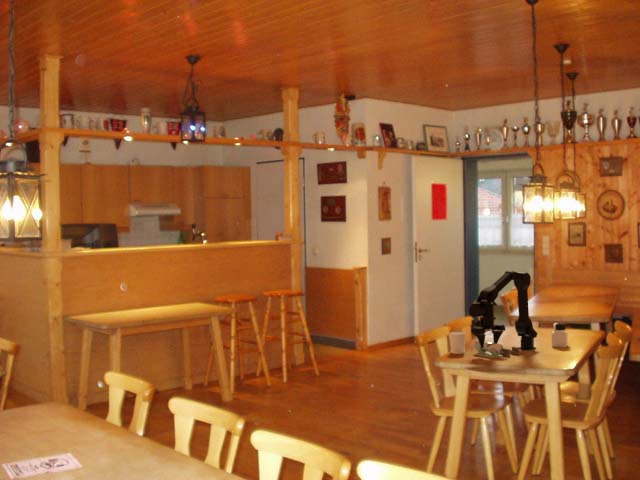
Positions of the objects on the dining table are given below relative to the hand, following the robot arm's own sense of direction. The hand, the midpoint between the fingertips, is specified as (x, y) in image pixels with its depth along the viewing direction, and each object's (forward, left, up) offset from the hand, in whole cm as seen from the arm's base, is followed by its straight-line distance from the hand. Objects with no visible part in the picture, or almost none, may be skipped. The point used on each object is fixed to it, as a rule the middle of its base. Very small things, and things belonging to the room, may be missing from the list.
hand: (488, 346), depth 378 cm
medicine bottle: (-45, +7, -5) cm, 46 cm away
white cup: (+7, -15, -5) cm, 17 cm away
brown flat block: (-8, +4, -4) cm, 10 cm away
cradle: (0, 0, -4) cm, 4 cm away
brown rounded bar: (0, 0, -2) cm, 3 cm away
